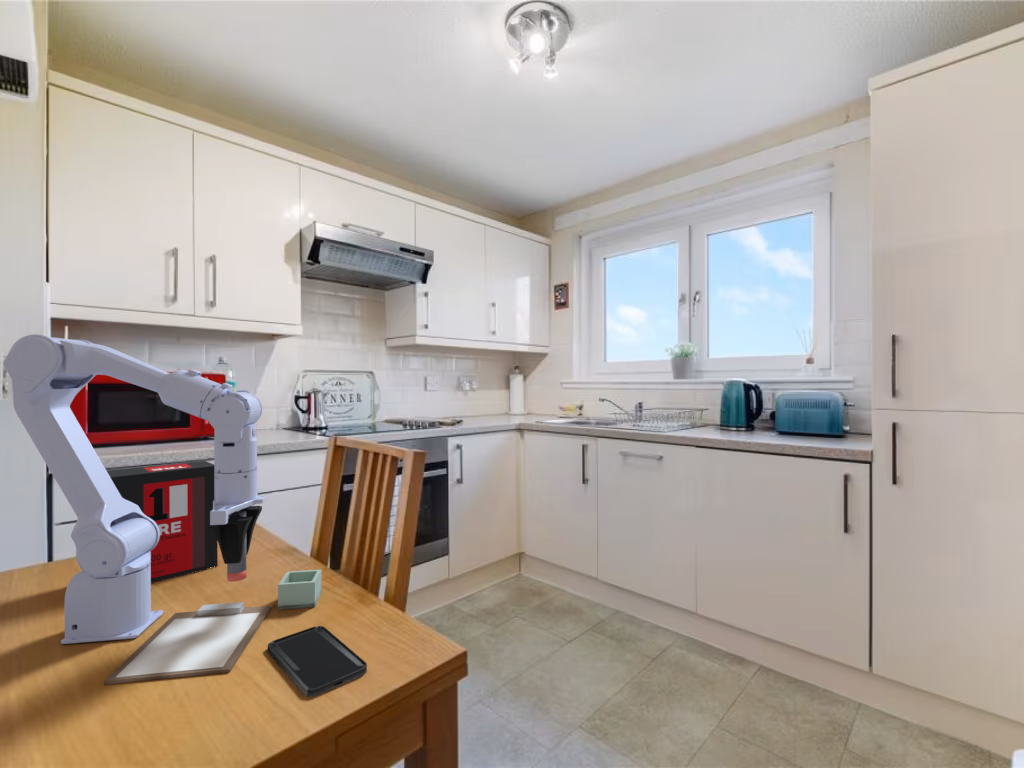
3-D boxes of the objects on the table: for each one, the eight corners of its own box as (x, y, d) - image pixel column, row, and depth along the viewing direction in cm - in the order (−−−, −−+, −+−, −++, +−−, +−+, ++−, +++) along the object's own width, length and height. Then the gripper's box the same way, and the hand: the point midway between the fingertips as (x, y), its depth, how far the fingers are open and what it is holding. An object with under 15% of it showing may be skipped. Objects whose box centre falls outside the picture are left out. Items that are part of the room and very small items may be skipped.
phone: (321, 624, 74) (370, 665, 63) (321, 631, 74) (370, 674, 63) (264, 643, 68) (307, 692, 57) (264, 651, 68) (307, 702, 57)
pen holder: (277, 609, 80) (277, 584, 80) (287, 594, 85) (287, 571, 85) (314, 606, 81) (314, 582, 81) (321, 592, 86) (321, 569, 86)
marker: (224, 582, 75) (224, 515, 75) (230, 575, 77) (230, 511, 77) (243, 580, 75) (243, 514, 75) (248, 574, 78) (248, 510, 78)
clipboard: (103, 684, 60) (103, 672, 60) (175, 615, 78) (175, 606, 78) (229, 672, 63) (229, 661, 63) (271, 608, 80) (271, 599, 80)
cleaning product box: (110, 592, 86) (110, 477, 86) (103, 578, 93) (103, 470, 93) (217, 566, 98) (217, 465, 98) (204, 555, 105) (204, 460, 104)
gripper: (249, 478, 70) (249, 575, 70) (277, 461, 84) (277, 542, 84) (193, 480, 68) (193, 579, 68) (231, 463, 83) (231, 544, 83)
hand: (236, 559), depth 76 cm, fingers closed on marker, 3 cm apart
